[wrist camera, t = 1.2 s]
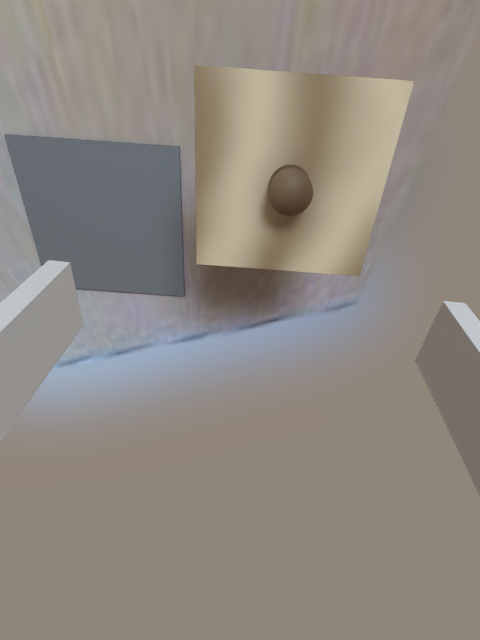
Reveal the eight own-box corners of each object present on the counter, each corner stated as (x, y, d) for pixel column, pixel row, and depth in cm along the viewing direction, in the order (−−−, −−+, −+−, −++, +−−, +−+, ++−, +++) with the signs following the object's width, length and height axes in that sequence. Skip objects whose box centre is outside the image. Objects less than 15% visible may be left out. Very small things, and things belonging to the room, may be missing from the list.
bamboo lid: (199, 255, 26) (193, 275, 23) (198, 65, 20) (189, 66, 17) (355, 266, 26) (365, 288, 23) (404, 80, 20) (425, 83, 17)
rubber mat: (48, 285, 43) (47, 286, 43) (6, 134, 34) (4, 134, 34) (184, 294, 43) (184, 296, 43) (179, 146, 34) (179, 147, 34)
